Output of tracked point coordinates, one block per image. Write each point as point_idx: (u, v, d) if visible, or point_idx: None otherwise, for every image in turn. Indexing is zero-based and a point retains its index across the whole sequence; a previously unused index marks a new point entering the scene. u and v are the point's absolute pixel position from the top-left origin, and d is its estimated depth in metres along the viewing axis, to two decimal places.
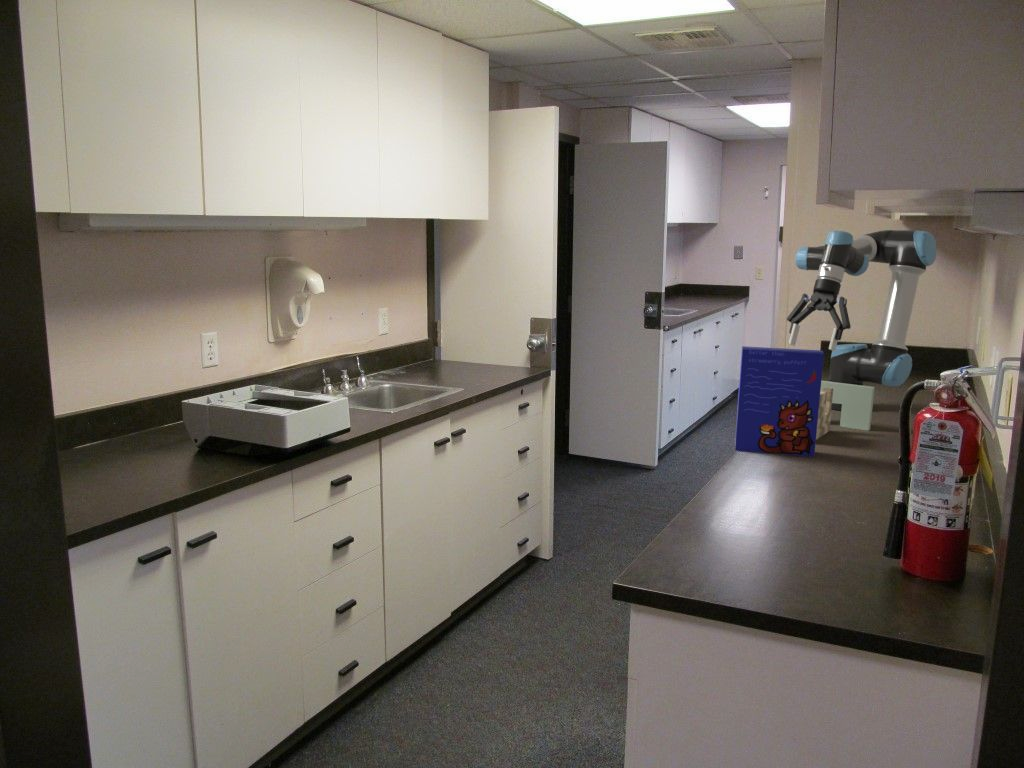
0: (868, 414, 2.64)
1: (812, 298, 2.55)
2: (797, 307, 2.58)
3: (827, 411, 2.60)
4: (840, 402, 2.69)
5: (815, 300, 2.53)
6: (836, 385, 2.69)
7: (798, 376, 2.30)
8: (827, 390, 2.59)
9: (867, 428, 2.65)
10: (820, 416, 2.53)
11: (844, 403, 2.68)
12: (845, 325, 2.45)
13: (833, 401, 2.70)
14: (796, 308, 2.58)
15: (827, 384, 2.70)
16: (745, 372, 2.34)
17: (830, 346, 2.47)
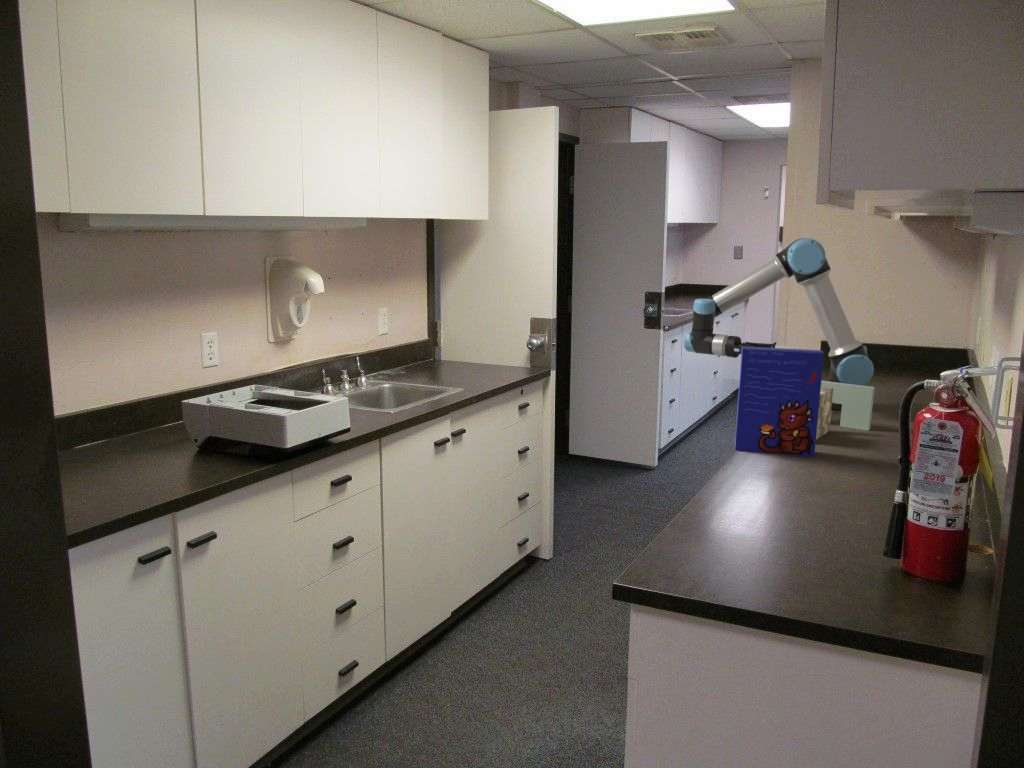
0: (868, 414, 2.64)
1: None
2: None
3: (827, 411, 2.60)
4: (840, 402, 2.69)
5: None
6: (836, 385, 2.69)
7: (798, 376, 2.30)
8: (827, 390, 2.59)
9: (867, 428, 2.65)
10: (820, 416, 2.53)
11: (844, 403, 2.68)
12: None
13: (833, 401, 2.70)
14: None
15: (827, 384, 2.70)
16: (745, 372, 2.34)
17: None
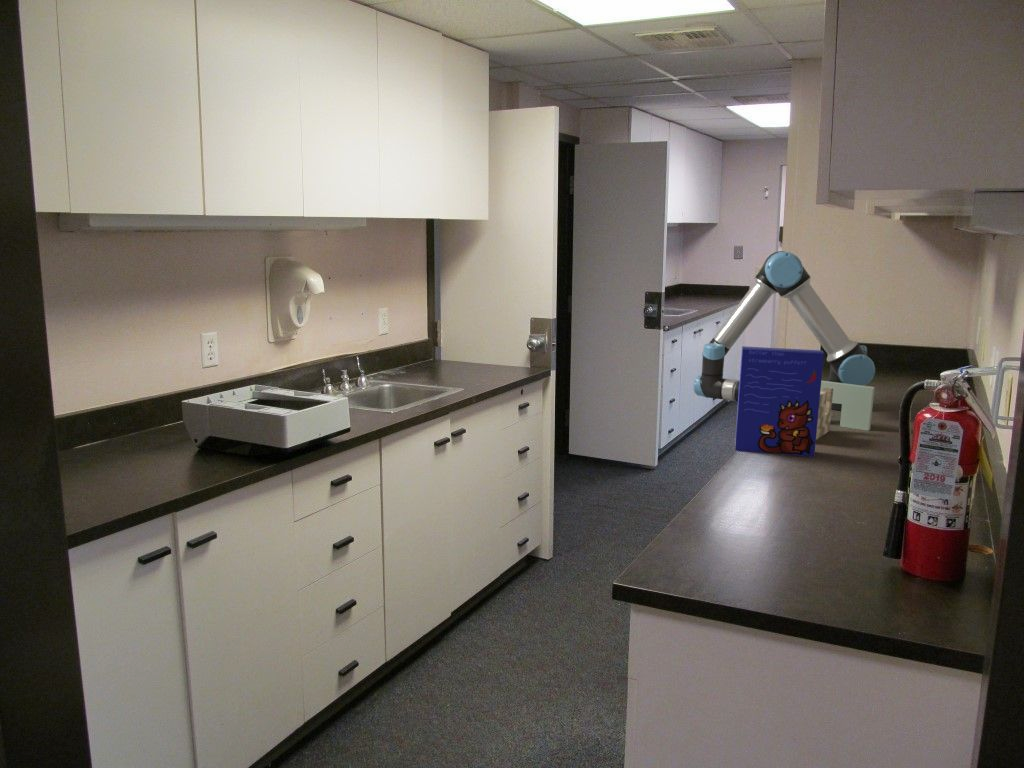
0: (868, 414, 2.64)
1: None
2: None
3: (827, 411, 2.60)
4: (840, 402, 2.69)
5: None
6: (836, 385, 2.69)
7: (798, 376, 2.30)
8: (827, 390, 2.59)
9: (867, 428, 2.65)
10: (820, 416, 2.53)
11: (844, 403, 2.68)
12: None
13: (833, 401, 2.70)
14: None
15: (827, 384, 2.70)
16: (745, 372, 2.34)
17: None
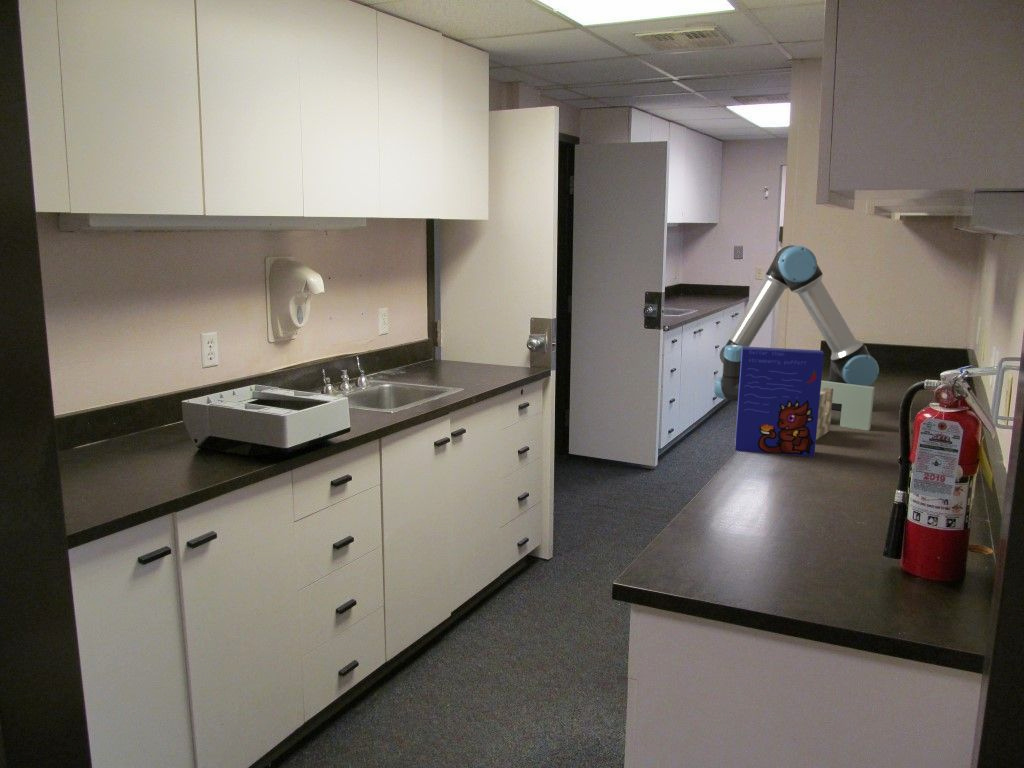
0: (868, 414, 2.64)
1: None
2: None
3: (827, 411, 2.60)
4: (840, 402, 2.69)
5: None
6: (836, 385, 2.69)
7: (798, 376, 2.30)
8: (827, 390, 2.59)
9: (867, 428, 2.65)
10: (820, 416, 2.53)
11: (844, 403, 2.68)
12: None
13: (833, 401, 2.70)
14: None
15: (827, 384, 2.70)
16: (745, 372, 2.34)
17: None
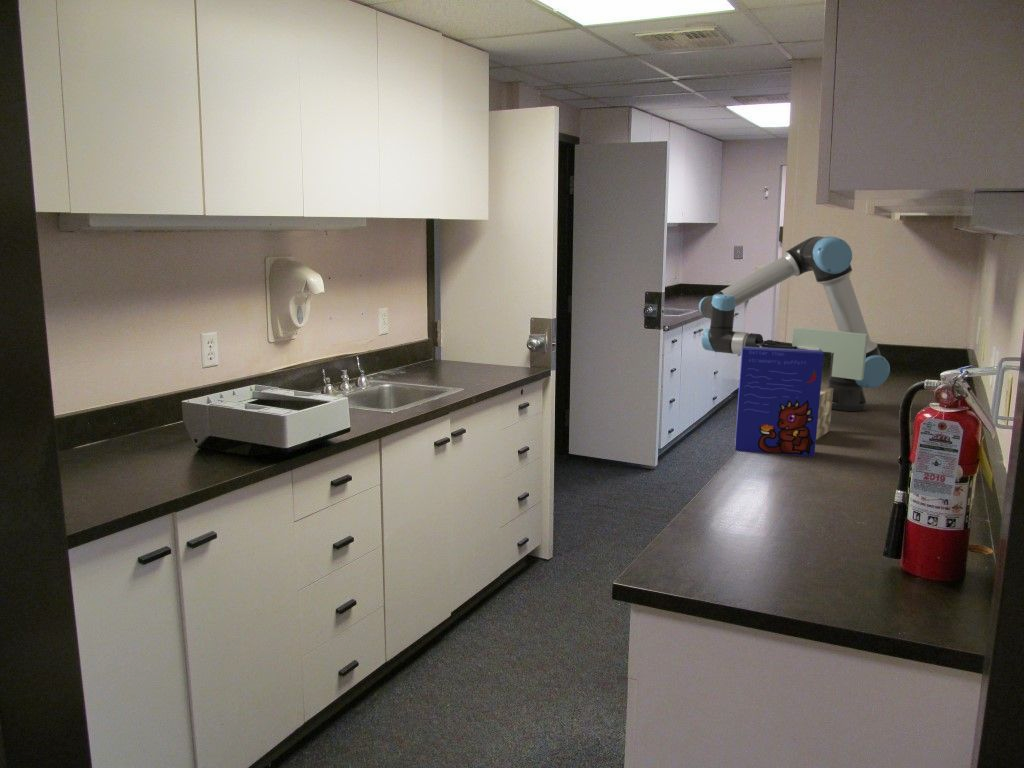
0: (861, 362, 2.51)
1: None
2: None
3: (827, 411, 2.60)
4: (832, 351, 2.56)
5: None
6: (828, 333, 2.56)
7: (798, 376, 2.30)
8: (827, 390, 2.59)
9: (860, 377, 2.52)
10: (820, 416, 2.53)
11: (836, 352, 2.55)
12: None
13: (824, 350, 2.57)
14: None
15: (818, 332, 2.57)
16: (745, 372, 2.34)
17: None
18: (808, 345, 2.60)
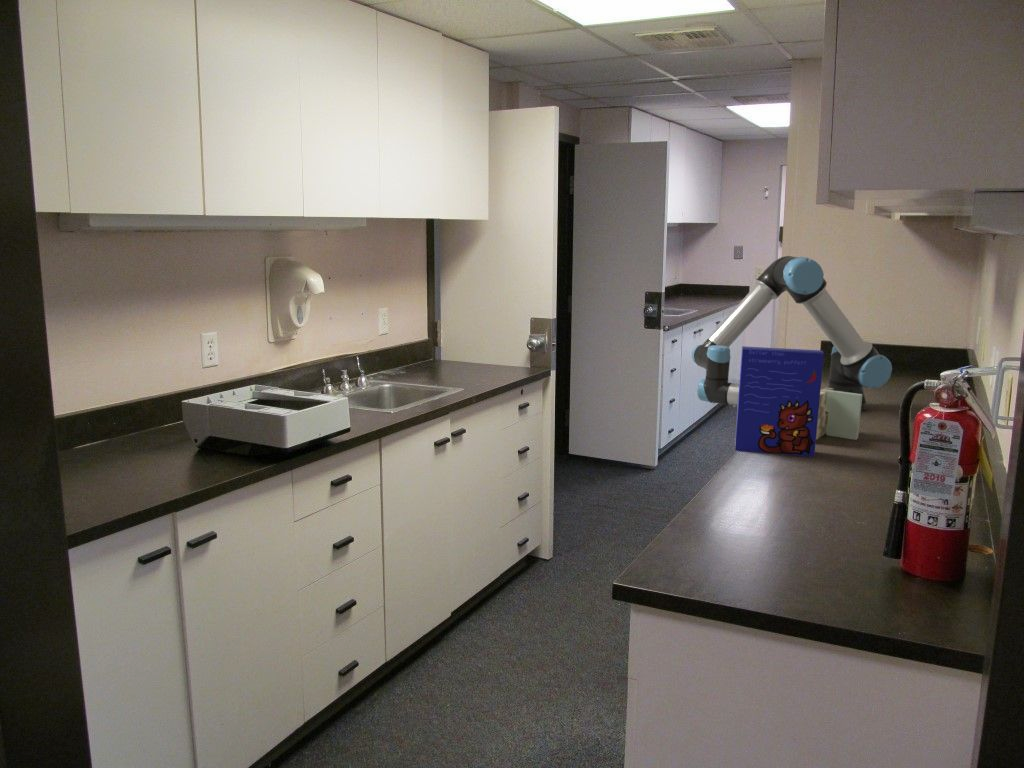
0: (855, 422, 2.52)
1: None
2: None
3: None
4: (826, 410, 2.57)
5: None
6: None
7: (798, 376, 2.30)
8: None
9: (855, 437, 2.53)
10: (820, 416, 2.53)
11: (831, 411, 2.56)
12: None
13: None
14: None
15: None
16: (745, 372, 2.34)
17: None
18: None
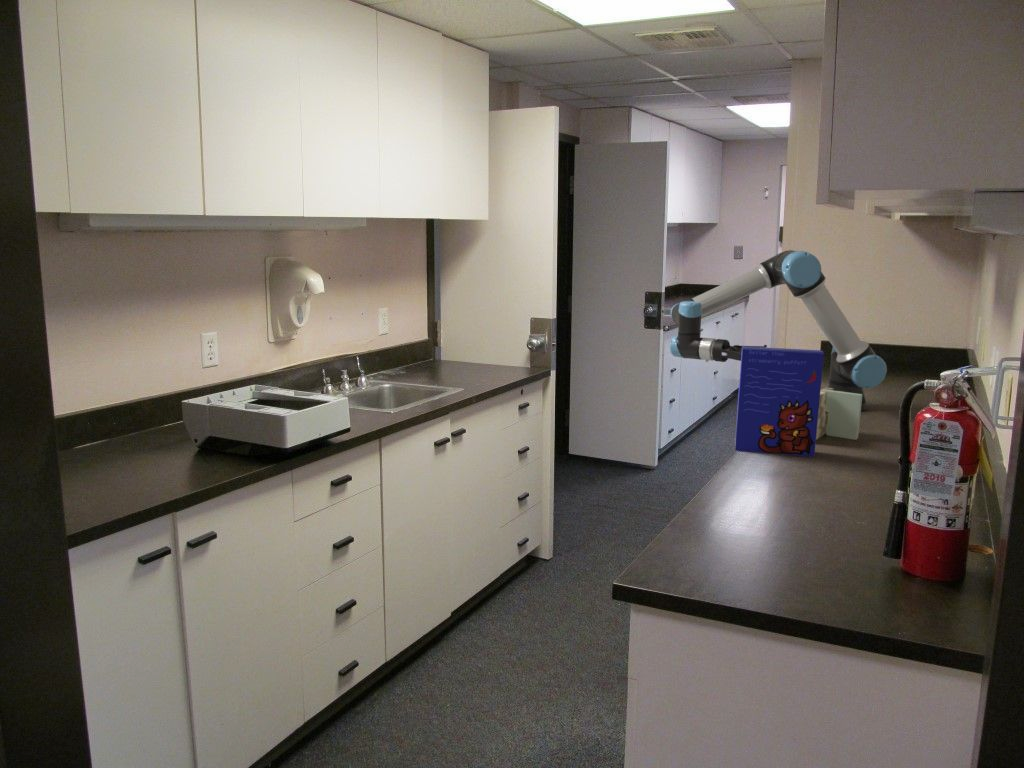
0: (855, 422, 2.52)
1: None
2: None
3: None
4: (826, 410, 2.57)
5: None
6: None
7: (798, 376, 2.30)
8: None
9: (855, 437, 2.53)
10: (820, 416, 2.53)
11: (831, 411, 2.56)
12: None
13: None
14: None
15: None
16: (745, 372, 2.34)
17: None
18: None
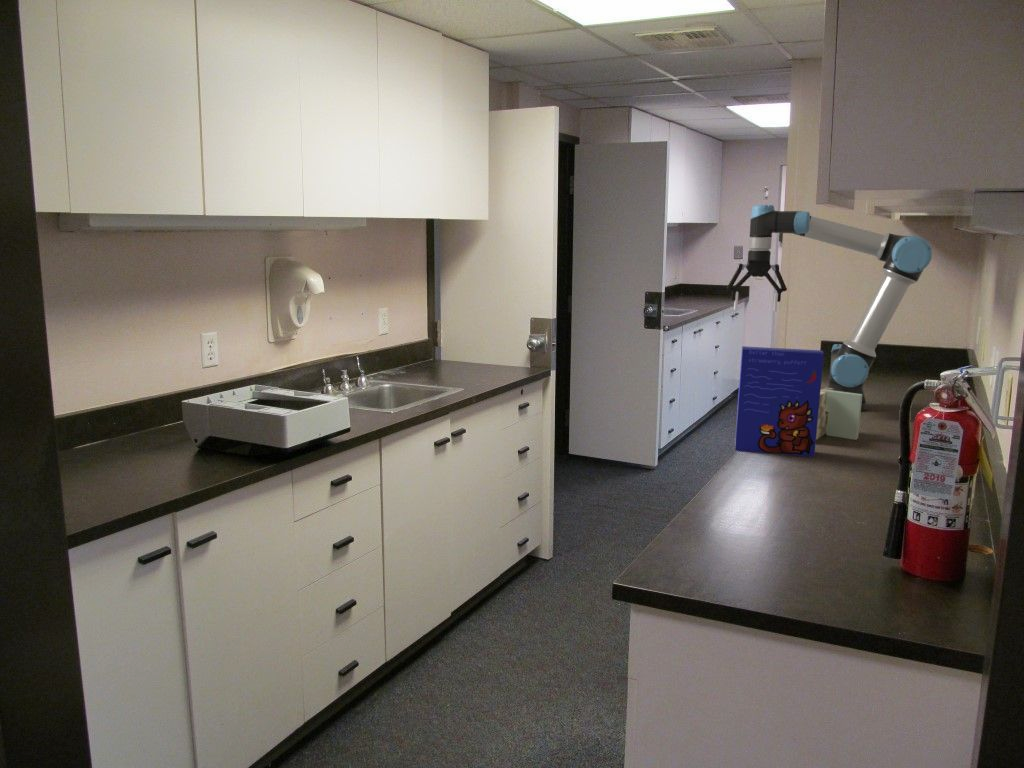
0: (855, 422, 2.52)
1: None
2: None
3: None
4: (826, 410, 2.57)
5: None
6: None
7: (798, 376, 2.30)
8: None
9: (855, 437, 2.53)
10: (820, 416, 2.53)
11: (831, 411, 2.56)
12: None
13: None
14: None
15: None
16: (745, 372, 2.34)
17: None
18: None
